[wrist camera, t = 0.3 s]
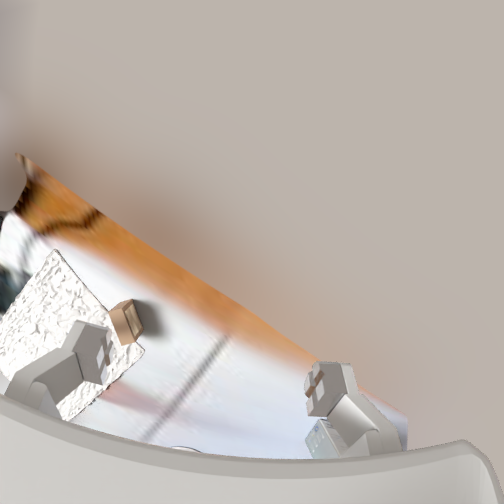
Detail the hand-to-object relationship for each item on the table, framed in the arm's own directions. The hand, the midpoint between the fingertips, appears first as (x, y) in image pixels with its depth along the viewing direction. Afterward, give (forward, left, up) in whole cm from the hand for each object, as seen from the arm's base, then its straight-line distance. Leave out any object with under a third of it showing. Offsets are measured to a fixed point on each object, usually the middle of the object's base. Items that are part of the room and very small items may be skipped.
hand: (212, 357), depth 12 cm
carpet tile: (-10, +45, -54) cm, 71 cm away
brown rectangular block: (-7, +21, -53) cm, 58 cm away
